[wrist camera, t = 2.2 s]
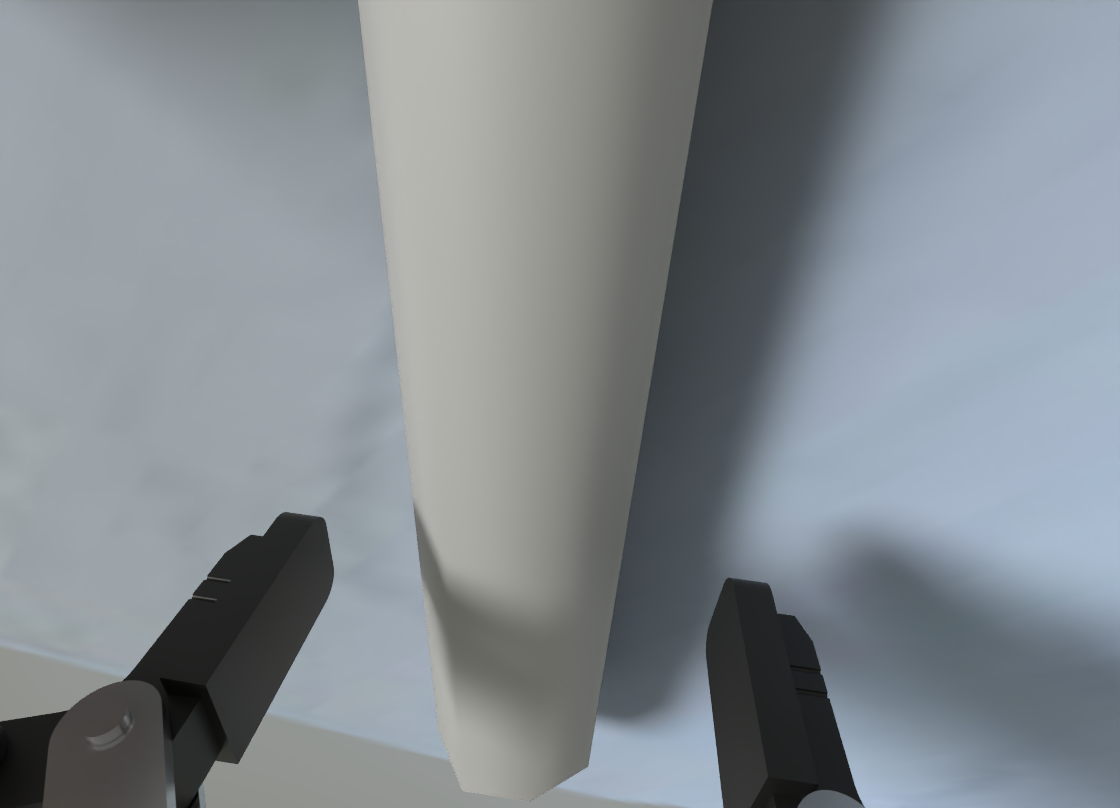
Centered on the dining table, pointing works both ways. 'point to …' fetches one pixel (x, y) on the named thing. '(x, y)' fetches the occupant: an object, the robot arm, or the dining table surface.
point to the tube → (526, 336)
